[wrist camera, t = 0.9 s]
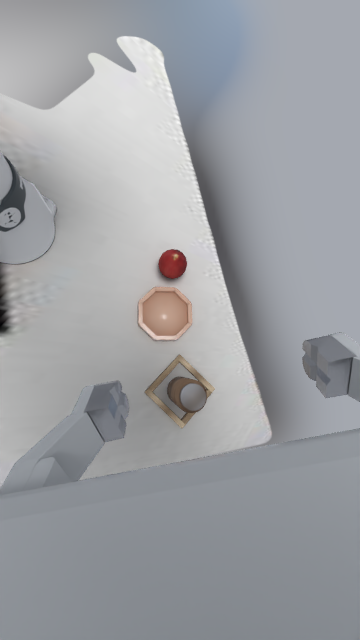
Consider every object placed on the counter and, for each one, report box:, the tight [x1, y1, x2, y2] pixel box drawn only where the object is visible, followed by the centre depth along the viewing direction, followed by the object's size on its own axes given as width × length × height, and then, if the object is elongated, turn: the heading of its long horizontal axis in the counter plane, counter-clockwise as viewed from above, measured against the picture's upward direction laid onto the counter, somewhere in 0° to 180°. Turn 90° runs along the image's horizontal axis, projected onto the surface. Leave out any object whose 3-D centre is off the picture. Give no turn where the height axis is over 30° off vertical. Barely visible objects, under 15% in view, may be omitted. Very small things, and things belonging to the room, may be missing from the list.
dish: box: [138, 287, 192, 341], centre depth 49 cm, size 11×11×2 cm
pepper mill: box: [167, 377, 207, 413], centre depth 42 cm, size 5×5×12 cm
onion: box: [158, 249, 187, 279], centre depth 48 cm, size 6×6×8 cm
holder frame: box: [145, 355, 215, 428], centre depth 47 cm, size 10×10×1 cm
